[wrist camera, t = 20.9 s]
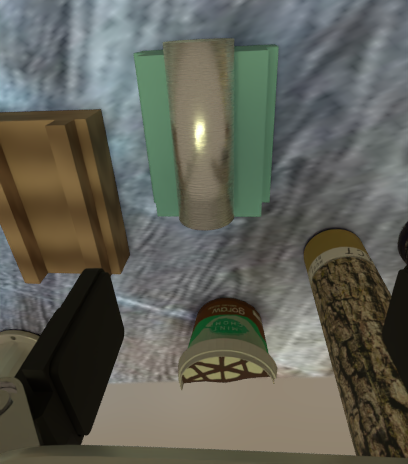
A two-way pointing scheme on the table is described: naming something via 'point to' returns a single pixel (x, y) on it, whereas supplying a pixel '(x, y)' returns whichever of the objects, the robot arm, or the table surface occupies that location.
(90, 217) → the wooden channel block
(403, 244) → the storage jar
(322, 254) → the bark patterned canister
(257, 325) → the food container
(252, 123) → the v block
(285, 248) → the table surface
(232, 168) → the axle
